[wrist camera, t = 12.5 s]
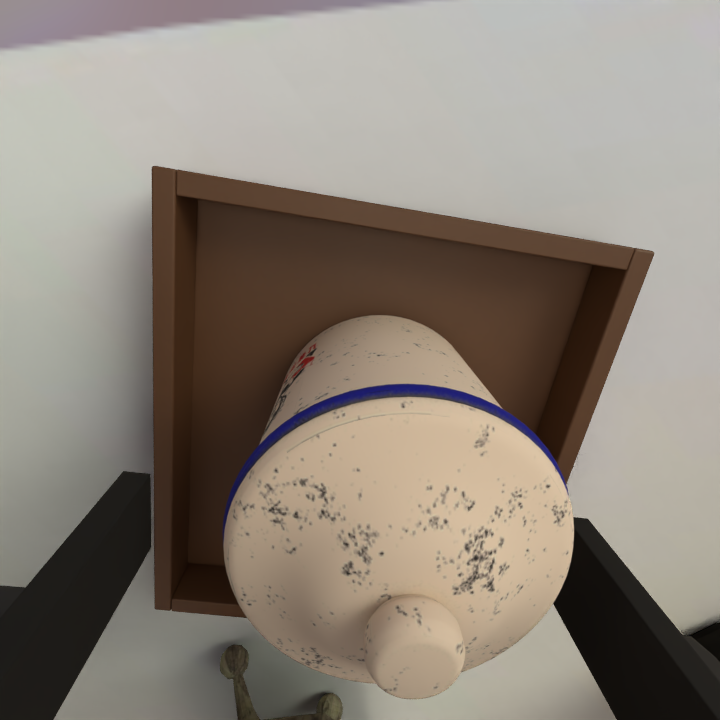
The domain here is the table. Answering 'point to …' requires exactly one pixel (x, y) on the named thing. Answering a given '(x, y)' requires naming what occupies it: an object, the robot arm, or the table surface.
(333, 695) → the green bell
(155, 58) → the table surface
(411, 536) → the teacup with lid
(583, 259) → the tray
